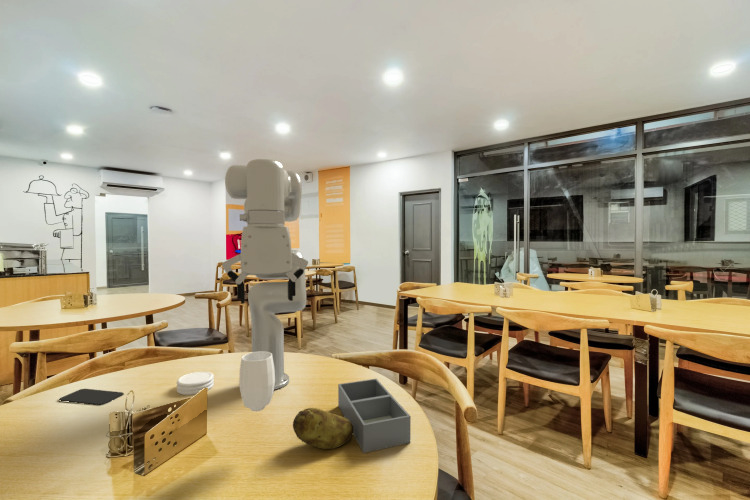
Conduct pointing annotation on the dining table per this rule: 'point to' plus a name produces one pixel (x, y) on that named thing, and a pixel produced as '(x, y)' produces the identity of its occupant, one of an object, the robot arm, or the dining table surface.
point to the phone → (92, 396)
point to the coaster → (194, 382)
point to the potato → (322, 428)
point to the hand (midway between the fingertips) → (267, 301)
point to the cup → (257, 379)
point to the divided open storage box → (374, 415)
